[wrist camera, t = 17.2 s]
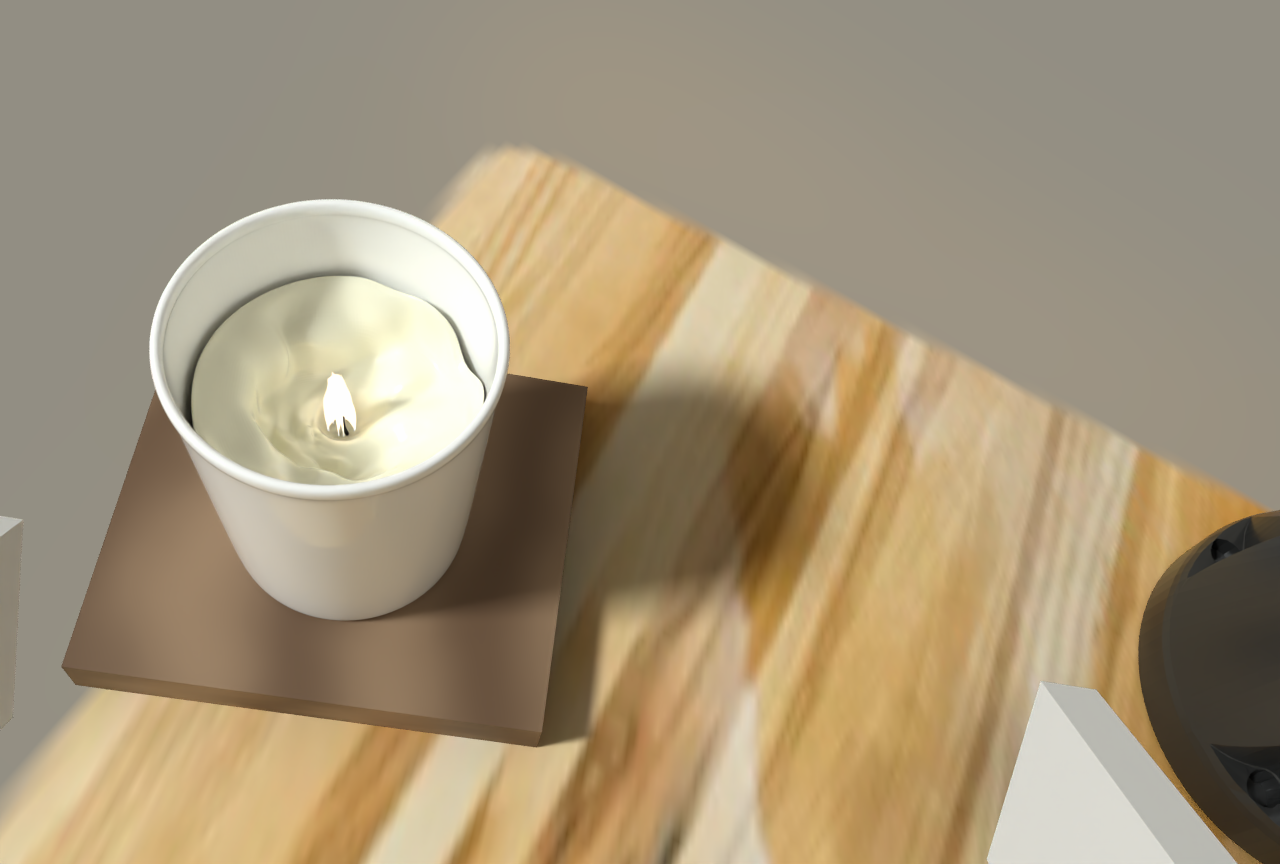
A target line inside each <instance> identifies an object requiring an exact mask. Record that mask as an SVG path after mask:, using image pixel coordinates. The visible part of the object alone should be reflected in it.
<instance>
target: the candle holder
mask: <svg viewBox="0 0 1280 864" xmlns="http://www.w3.org/2000/svg"><path fill="white" fill-rule="evenodd" d="M149 355H150V367H151V373H152V378H153V382H154V386H155V389H156V392H157V395H158V398H159V400H160V402H161V405H162V407H163V409H164V411H165V413H166V414H167V416H168V418H169V420H170V421H171V423H172V424H173V426H174V427H175V429H176V430H177V431H178V433H179V435H180V437H181V440H182V442H183V444H184V446H185V448H186V450H187V452H188V454H189V456H190V458H191V461H192V463H193V465H194V467H195V469H196V471H197V473H198V475H199V477H200V479H201V482H202V484H203V486H204V488H205V490H206V492H207V494H208V496H209V498H210V500H211V503H212V505H213V507H214V509H215V511H216V513H217V515H218V517H219V519H220V521H221V523H222V526H223V528H224V530H225V532H226V534H227V536H228V538H229V540H230V542H231V544H232V546H233V548H234V550H235V552H236V554H237V555H238V557H239V559H240V561H241V563H242V564H243V566H244V567H245V569H246V570H247V572H248V573H249V575H250V576H251V577H252V578H253V580H254V581H255V582H256V583H257V584H258V585H259V586H260V587H261V588H262V589H263V590H264V591H265V592H266V593H267V594H269V595H270V596H271V597H273V598H274V599H275V600H277V601H278V602H280V603H282V604H283V605H285V606H287V607H289V608H291V609H293V610H295V611H298V612H300V613H303V614H306V615H309V616H313V617H317V618H322V619H328V620H339V621H351V620H362V619H369V618H374V617H378V616H381V615H385V614H388V613H391V612H393V611H396V610H398V609H400V608H402V607H404V606H406V605H408V604H410V603H411V602H413V601H415V600H416V599H418V598H419V597H421V596H422V595H423V594H425V593H426V592H427V591H428V590H429V589H431V588H432V587H433V586H434V585H435V584H436V583H437V582H438V581H439V580H440V578H441V577H442V576H443V575H444V574H445V572H446V571H447V570H448V568H449V567H450V565H451V563H452V562H453V560H454V558H455V556H456V555H457V552H458V550H459V548H460V546H461V543H462V540H463V537H464V534H465V531H466V528H467V524H468V520H469V517H470V513H471V509H472V505H473V501H474V497H475V493H476V489H477V485H478V481H479V477H480V473H481V468H482V464H483V460H484V456H485V452H486V448H487V444H488V440H489V436H490V431H491V427H492V423H493V419H494V415H495V411H496V407H497V403H498V401H499V399H500V396H501V394H502V391H503V388H504V385H505V381H506V377H507V373H508V367H509V359H510V337H509V328H508V323H507V318H506V314H505V311H504V308H503V305H502V302H501V299H500V297H499V295H498V293H497V291H496V289H495V287H494V285H493V283H492V281H491V280H490V278H489V276H488V275H487V274H486V272H485V271H484V269H483V268H482V267H481V265H480V264H479V263H478V262H477V261H476V259H475V258H474V257H473V256H472V255H471V254H470V253H469V252H468V251H467V250H466V249H465V248H464V247H463V246H461V245H460V244H459V243H458V242H457V241H456V240H454V239H453V238H452V237H450V236H449V235H448V234H446V233H445V232H443V231H442V230H440V229H438V228H437V227H435V226H433V225H432V224H430V223H428V222H426V221H424V220H422V219H420V218H418V217H415V216H413V215H411V214H408V213H405V212H403V211H400V210H397V209H393V208H390V207H386V206H383V205H378V204H374V203H368V202H361V201H354V200H338V199H327V200H326V199H325V200H309V201H301V202H295V203H289V204H285V205H280V206H276V207H273V208H269V209H266V210H263V211H260V212H257V213H255V214H252V215H250V216H247V217H245V218H243V219H241V220H239V221H237V222H235V223H233V224H231V225H229V226H227V227H226V228H224V229H222V230H221V231H219V232H218V233H216V234H215V235H213V236H212V237H211V238H209V239H208V240H207V241H205V242H204V243H203V244H202V245H200V246H199V247H198V248H197V249H196V250H195V251H194V252H193V253H192V254H191V255H190V256H189V257H188V258H187V259H186V260H185V261H184V262H183V263H182V265H181V266H180V267H179V268H178V270H177V271H176V272H175V274H174V275H173V277H172V278H171V280H170V281H169V283H168V285H167V286H166V288H165V290H164V292H163V294H162V296H161V298H160V301H159V303H158V306H157V308H156V311H155V315H154V318H153V322H152V327H151V333H150V344H149Z"/></svg>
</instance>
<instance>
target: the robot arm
mask: <svg viewBox="0 0 1280 864" xmlns="http://www.w3.org/2000/svg"><path fill="white" fill-rule="evenodd" d="M22 532H23V520H22V519H16V518H10V517H3V516H0V730H1V729H2V728H3V727H4V726H5V725H6V724H7V723H8V722H9V721H10V720H11V719H12V717H13V704H14V686H15V685H14V684H15V666H16V646H17V628H18V609H19V590H20V570H21V552H22V551H21V550H22ZM1139 673H1140V681H1141V688H1142V693H1143V697H1144V702H1145V705H1146V709H1147V712H1148V716H1149V719H1150V722H1151V724H1152V727H1153V730H1154V732H1155V735H1156V737H1157V739H1158V742H1159V744H1160V746H1161V748H1162V750H1163V752H1164V754H1165V756H1166V758H1167V760H1168V762H1169V764H1170V765H1171V767H1172V769H1173V770H1174V772H1175V774H1176V775H1177V777H1178V778H1179V780H1180V781H1181V783H1182V784H1183V786H1184V788H1185V789H1186V790H1187V792H1188V793H1189V794H1190V796H1191V797H1192V798H1193V800H1194V801H1195V802H1196V803H1197V804H1198V806H1199V807H1200V808H1201V809H1202V810H1203V812H1204V813H1205V814H1206V815H1207V816H1208V817H1209V818H1210V819H1211V820H1212V821H1213V823H1214V824H1215V825H1216V826H1217V827H1218V828H1219V829H1221V830H1222V831H1223V832H1224V833H1225V834H1226V835H1227V836H1228V837H1229V838H1230V839H1231V840H1233V841H1234V842H1235V843H1236V844H1237V845H1238V846H1240V847H1241V848H1242V849H1243V850H1245V851H1246V852H1247V853H1249V854H1250V855H1251V856H1253V857H1254V858H1256V859H1257V860H1259V861H1260V862H1262V863H1263V864H1280V510H1278V511H1272V512H1267V513H1262V514H1257V515H1253V516H1249V517H1246V518H1243V519H1241V520H1238V521H1235V522H1233V523H1231V524H1229V525H1227V526H1225V527H1222V528H1220V529H1219V530H1217V531H1216V532H1214V533H1212V534H1211V535H1209V536H1208V537H1207V538H1205V539H1204V540H1202V541H1201V542H1199V543H1198V544H1197V545H1195V546H1194V547H1192V548H1191V549H1190V550H1188V551H1187V552H1185V553H1184V554H1183V555H1182V556H1180V557H1179V558H1178V559H1177V560H1176V561H1175V562H1174V563H1173V564H1172V565H1171V566H1170V567H1169V568H1168V569H1167V570H1166V571H1165V573H1164V574H1163V575H1162V577H1161V578H1160V580H1159V581H1158V582H1157V584H1156V586H1155V588H1154V590H1153V591H1152V594H1151V596H1150V598H1149V600H1148V603H1147V606H1146V609H1145V612H1144V615H1143V619H1142V623H1141V629H1140V636H1139ZM987 861H988V863H989V864H1237V863H1236V861H1235V860H1234V859H1233V858H1232V856H1231V855H1230V854H1229V853H1228V851H1227V850H1226V849H1225V848H1224V847H1223V845H1222V844H1221V843H1220V842H1219V840H1218V839H1217V838H1216V837H1215V835H1214V834H1213V833H1212V832H1211V831H1210V829H1209V828H1208V827H1207V826H1206V824H1205V823H1204V822H1203V821H1202V819H1201V818H1200V817H1199V816H1198V815H1197V813H1196V812H1195V811H1194V810H1193V808H1192V807H1191V806H1190V805H1189V803H1188V802H1187V801H1186V800H1185V799H1184V797H1183V796H1182V795H1181V794H1180V792H1179V791H1178V790H1177V789H1176V787H1175V786H1174V785H1173V784H1172V783H1171V781H1170V780H1169V779H1168V778H1167V776H1166V775H1165V774H1164V773H1163V771H1162V770H1161V769H1160V768H1159V767H1158V765H1157V764H1156V763H1155V762H1154V760H1153V759H1152V758H1151V757H1150V755H1149V754H1148V753H1147V752H1146V750H1145V749H1144V748H1143V747H1142V746H1141V744H1140V743H1139V742H1138V741H1137V739H1136V738H1135V737H1134V736H1133V734H1132V733H1131V732H1130V731H1129V730H1128V728H1127V727H1126V726H1125V725H1124V723H1123V722H1122V721H1121V720H1120V718H1119V717H1118V716H1117V715H1116V714H1115V712H1114V711H1113V710H1112V709H1111V707H1110V706H1109V705H1108V704H1107V702H1106V701H1105V700H1104V699H1103V698H1102V696H1101V695H1100V694H1099V693H1098V691H1097V690H1094V689H1088V688H1082V687H1075V686H1069V685H1063V684H1057V683H1050V682H1044V681H1041V682H1040V685H1039V689H1038V692H1037V695H1036V699H1035V702H1034V705H1033V708H1032V712H1031V715H1030V718H1029V722H1028V725H1027V728H1026V732H1025V735H1024V738H1023V741H1022V745H1021V748H1020V751H1019V755H1018V758H1017V761H1016V765H1015V768H1014V771H1013V774H1012V778H1011V781H1010V784H1009V788H1008V791H1007V794H1006V798H1005V801H1004V804H1003V807H1002V811H1001V814H1000V817H999V821H998V824H997V827H996V831H995V834H994V837H993V840H992V844H991V847H990V850H989V854H988V857H987Z"/></svg>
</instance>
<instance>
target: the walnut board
mask: <svg viewBox="0 0 1280 864" xmlns="http://www.w3.org/2000/svg"><path fill="white" fill-rule="evenodd" d="M587 388H588V387H585V386H579V385H573V384H567V383H561V382H555V381H549V380H543V379H537V378H531V377H525V376H519V375H513V374H507V377H506V381H505V385H504V388H503V391H502V394H501V396H500V399H499V401H498V403H497V407H496V411H495V415H494V419H493V423H492V427H491V431H490V436H489V440H488V444H487V448H486V452H485V456H484V460H483V464H482V468H481V473H480V477H479V481H478V485H477V489H476V493H475V497H474V501H473V505H472V509H471V513H470V517H469V520H468V524H467V528H466V531H465V534H464V537H463V540H462V543H461V546H460V548H459V550H458V552H457V555H456V556H455V558H454V560H453V562H452V563H451V565H450V567H449V568H448V570H447V571H446V572H445V574H444V575H443V576H442V577H441V578H440V580H439V581H438V582H437V583H436V584H435V585H434V586H433V587H432V588H431V589H429V590H428V591H427V592H426V593H425V594H423V595H422V596H421V597H419V598H418V599H416V600H415V601H413V602H411V603H410V604H408V605H406V606H404V607H402V608H400V609H398V610H396V611H393V612H391V613H388V614H385V615H381V616H378V617H374V618H369V619H362V620H351V621H339V620H328V619H322V618H317V617H313V616H309V615H306V614H303V613H300V612H298V611H295V610H293V609H291V608H289V607H287V606H285V605H283V604H282V603H280V602H278V601H277V600H275V599H274V598H273V597H271V596H270V595H269V594H267V593H266V592H265V591H264V590H263V589H262V588H261V587H260V586H259V585H258V584H257V583H256V582H255V581H254V580H253V578H252V577H251V576H250V575H249V573H248V572H247V570H246V569H245V567H244V566H243V564H242V563H241V561H240V559H239V557H238V555H237V554H236V552H235V550H234V548H233V546H232V544H231V542H230V540H229V538H228V536H227V534H226V532H225V530H224V528H223V526H222V523H221V521H220V519H219V517H218V515H217V513H216V511H215V509H214V507H213V505H212V503H211V500H210V498H209V496H208V494H207V492H206V490H205V488H204V486H203V484H202V482H201V479H200V477H199V475H198V473H197V471H196V469H195V467H194V465H193V463H192V461H191V458H190V456H189V454H188V452H187V450H186V448H185V446H184V444H183V442H182V440H181V437H180V435H179V433H178V431H177V430H176V429H175V427H174V426H173V424H172V423H171V421H170V420H169V418H168V416H167V414H166V413H165V411H164V409H163V407H162V405H161V402H160V400H159V398H158V395H157V392H156V390H155V393H154V396H153V399H152V402H151V404H150V407H149V410H148V413H147V416H146V419H145V422H144V425H143V428H142V431H141V434H140V437H139V440H138V443H137V446H136V449H135V452H134V455H133V458H132V460H131V463H130V466H129V469H128V472H127V475H126V479H125V481H124V484H123V487H122V490H121V493H120V496H119V499H118V502H117V504H116V507H115V510H114V513H113V516H112V519H111V522H110V525H109V528H108V531H107V534H106V537H105V540H104V543H103V546H102V549H101V552H100V554H99V557H98V561H97V563H96V566H95V569H94V572H93V575H92V578H91V581H90V584H89V587H88V590H87V593H86V596H85V599H84V602H83V605H82V607H81V610H80V613H79V616H78V619H77V622H76V625H75V628H74V631H73V634H72V637H71V640H70V643H69V646H68V649H67V652H66V655H65V658H64V661H63V664H62V668H63V669H64V671H65V672H66V673H67V674H68V676H69V677H70V678H71V679H72V681H73V682H74V683H75V685H81V686H88V687H96V688H103V689H110V690H118V691H125V692H132V693H140V694H147V695H155V696H162V697H169V698H177V699H184V700H192V701H199V702H206V703H214V704H221V705H228V706H236V707H243V708H251V709H258V710H265V711H273V712H280V713H287V714H295V715H302V716H310V717H317V718H324V719H332V720H339V721H347V722H354V723H361V724H369V725H376V726H383V727H391V728H398V729H406V730H413V731H420V732H428V733H435V734H442V735H450V736H457V737H465V738H472V739H479V740H487V741H494V742H502V743H509V744H516V745H524V746H531V747H537V745H538V742H539V739H540V736H541V734H542V728H543V720H544V713H545V705H546V698H547V690H548V683H549V675H550V668H551V660H552V652H553V645H554V637H555V630H556V622H557V615H558V607H559V600H560V592H561V584H562V577H563V569H564V562H565V554H566V547H567V539H568V532H569V524H570V516H571V509H572V501H573V494H574V486H575V479H576V471H577V464H578V456H579V448H580V441H581V433H582V426H583V418H584V411H585V403H586V396H587Z"/></svg>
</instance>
